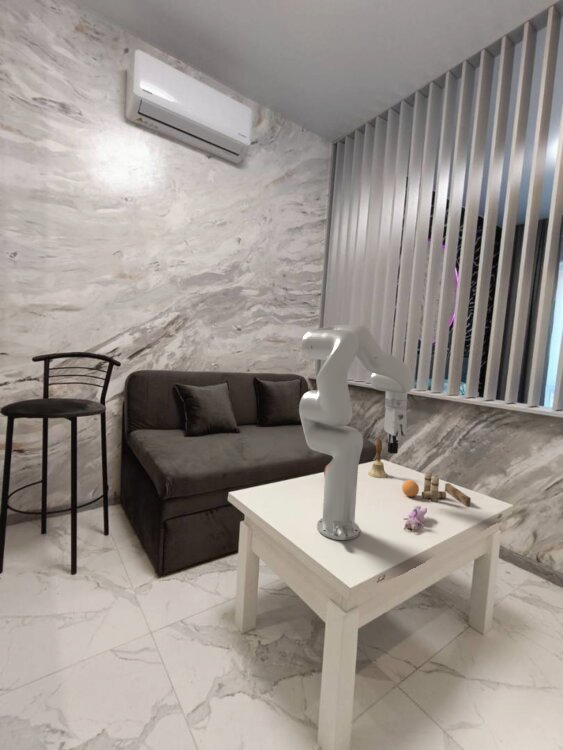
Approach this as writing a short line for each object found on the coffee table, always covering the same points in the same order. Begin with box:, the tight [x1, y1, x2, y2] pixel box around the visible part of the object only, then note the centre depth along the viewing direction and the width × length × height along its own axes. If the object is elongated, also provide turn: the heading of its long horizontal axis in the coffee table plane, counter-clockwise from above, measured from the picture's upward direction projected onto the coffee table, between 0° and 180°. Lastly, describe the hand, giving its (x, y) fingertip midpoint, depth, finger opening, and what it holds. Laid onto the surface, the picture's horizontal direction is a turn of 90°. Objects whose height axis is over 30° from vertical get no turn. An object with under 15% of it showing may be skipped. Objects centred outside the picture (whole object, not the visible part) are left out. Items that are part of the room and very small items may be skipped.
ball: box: [401, 479, 420, 498], centre depth 134 cm, size 6×6×6 cm
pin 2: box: [429, 476, 440, 503], centre depth 131 cm, size 2×2×8 cm
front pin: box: [421, 490, 447, 499], centre depth 133 cm, size 2×2×8 cm
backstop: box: [444, 483, 472, 507], centre depth 134 cm, size 14×2×3 cm, turn 5°
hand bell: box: [367, 438, 388, 479], centre depth 156 cm, size 8×8×16 cm
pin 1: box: [423, 471, 433, 491], centre depth 136 cm, size 2×2×8 cm
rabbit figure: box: [402, 505, 428, 533], centre depth 113 cm, size 6×6×15 cm
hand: (392, 452), depth 131 cm, fingers closed
